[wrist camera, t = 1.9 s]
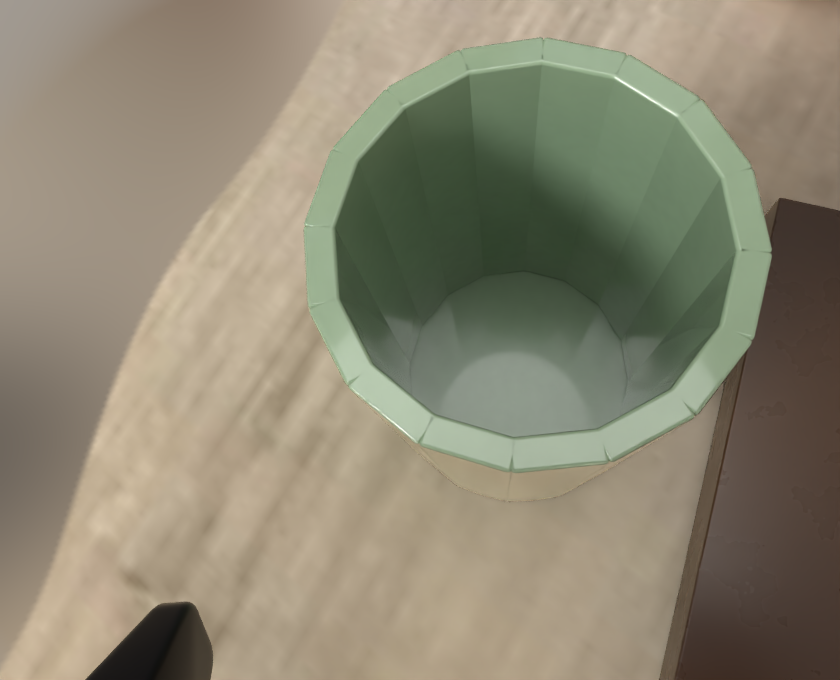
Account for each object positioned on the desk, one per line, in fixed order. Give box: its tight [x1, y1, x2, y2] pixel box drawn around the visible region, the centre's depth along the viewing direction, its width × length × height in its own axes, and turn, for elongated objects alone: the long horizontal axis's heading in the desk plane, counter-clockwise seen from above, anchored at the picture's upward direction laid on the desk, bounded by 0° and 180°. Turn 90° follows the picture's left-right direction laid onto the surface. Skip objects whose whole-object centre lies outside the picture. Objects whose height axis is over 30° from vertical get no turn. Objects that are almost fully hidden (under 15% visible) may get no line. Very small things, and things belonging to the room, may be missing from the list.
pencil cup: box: [304, 37, 772, 502], centre depth 16 cm, size 7×7×10 cm
